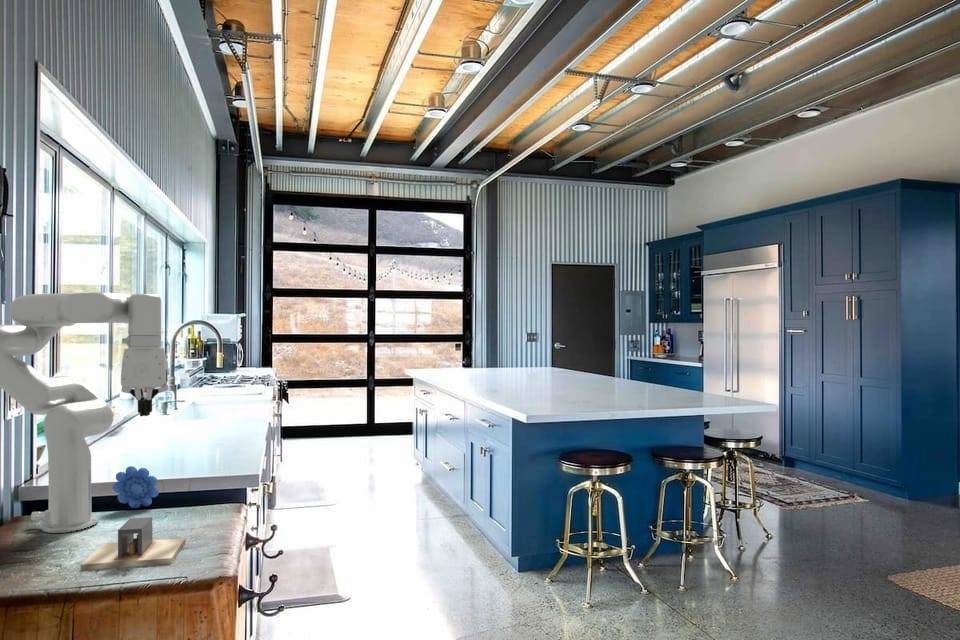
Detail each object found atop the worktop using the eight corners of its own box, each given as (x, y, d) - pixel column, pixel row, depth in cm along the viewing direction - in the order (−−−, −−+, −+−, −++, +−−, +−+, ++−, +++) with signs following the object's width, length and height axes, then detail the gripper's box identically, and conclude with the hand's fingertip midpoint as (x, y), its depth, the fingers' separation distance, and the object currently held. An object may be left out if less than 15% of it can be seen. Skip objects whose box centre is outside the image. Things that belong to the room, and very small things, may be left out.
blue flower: (112, 514, 187) (112, 470, 187) (112, 508, 193) (112, 466, 193) (159, 508, 193) (159, 466, 193) (157, 503, 199) (157, 462, 199)
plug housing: (118, 557, 149) (117, 530, 149) (130, 544, 158) (129, 518, 158) (141, 555, 150) (141, 528, 150) (152, 542, 159) (152, 517, 159)
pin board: (80, 570, 145) (80, 552, 145) (102, 548, 159) (102, 532, 159) (171, 563, 149) (171, 546, 149) (185, 543, 163) (185, 527, 163)
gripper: (107, 343, 168) (107, 418, 168) (173, 343, 171) (173, 416, 171) (117, 342, 175) (117, 414, 175) (179, 342, 178) (180, 412, 178)
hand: (145, 415), depth 173 cm, fingers closed
